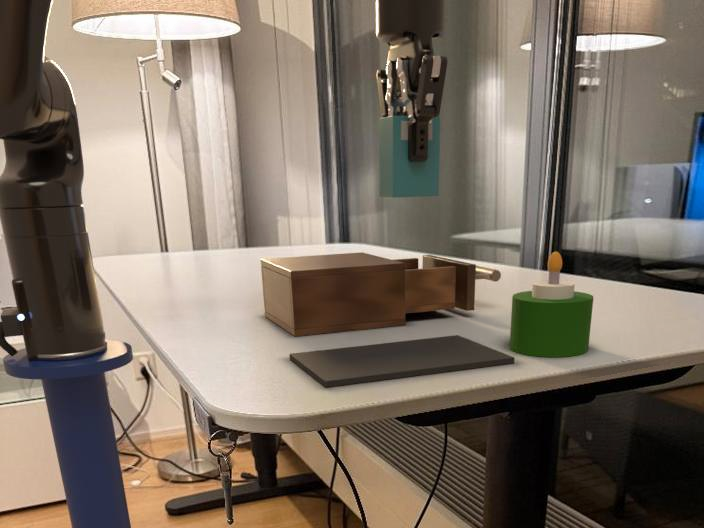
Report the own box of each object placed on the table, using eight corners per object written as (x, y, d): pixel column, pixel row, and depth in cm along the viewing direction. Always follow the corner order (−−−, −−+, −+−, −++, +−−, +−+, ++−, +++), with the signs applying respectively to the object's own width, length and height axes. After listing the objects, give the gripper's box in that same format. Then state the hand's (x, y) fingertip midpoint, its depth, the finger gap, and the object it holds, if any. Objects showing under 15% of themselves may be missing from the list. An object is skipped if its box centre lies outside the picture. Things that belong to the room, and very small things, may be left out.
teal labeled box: (393, 197, 84) (393, 115, 81) (379, 196, 88) (378, 118, 84) (439, 195, 86) (440, 116, 83) (423, 195, 90) (424, 118, 86)
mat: (325, 387, 66) (325, 381, 66) (289, 359, 76) (289, 353, 76) (514, 363, 72) (514, 357, 72) (457, 340, 83) (457, 334, 83)
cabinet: (363, 307, 104) (362, 252, 101) (405, 325, 91) (405, 262, 88) (264, 316, 99) (260, 259, 96) (294, 336, 87) (290, 271, 84)
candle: (605, 351, 76) (616, 252, 72) (541, 360, 73) (548, 258, 69) (554, 336, 83) (562, 245, 79) (494, 344, 80) (499, 250, 76)
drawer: (463, 292, 108) (465, 252, 106) (512, 306, 97) (514, 261, 94) (343, 303, 102) (341, 260, 100) (379, 319, 90) (378, 271, 88)
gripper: (354, 0, 83) (357, 163, 90) (407, -29, 71) (406, 161, 78) (412, 4, 86) (411, 162, 93) (473, -24, 74) (467, 160, 81)
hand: (409, 161), depth 85 cm, fingers closed on teal labeled box, 4 cm apart
